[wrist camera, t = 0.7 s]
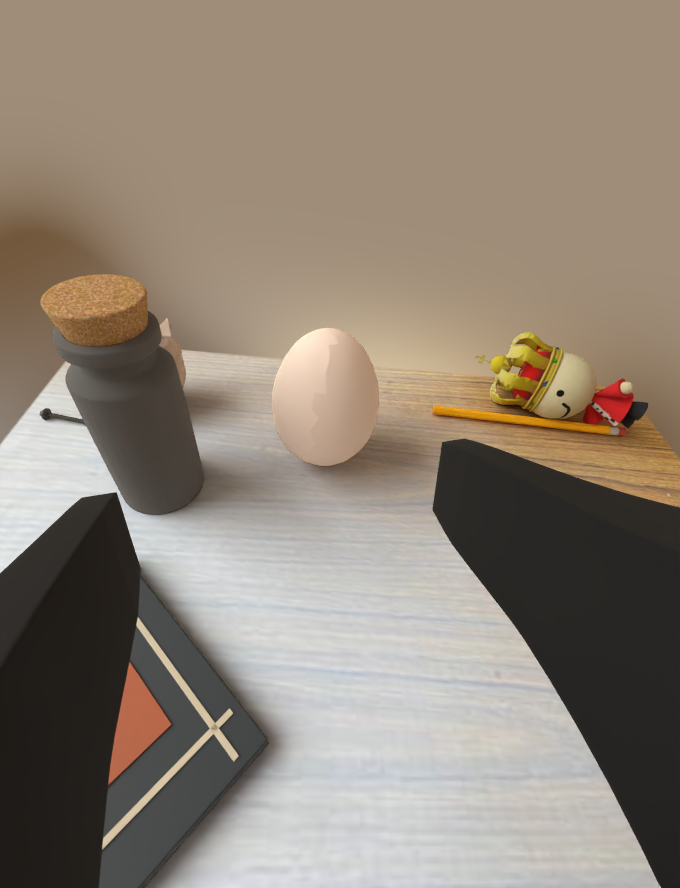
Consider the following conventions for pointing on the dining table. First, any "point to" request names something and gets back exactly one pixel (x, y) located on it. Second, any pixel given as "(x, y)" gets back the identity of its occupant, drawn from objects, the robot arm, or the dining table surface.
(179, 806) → the board
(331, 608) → the dining table surface
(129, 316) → the bottle
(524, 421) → the pencil
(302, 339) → the egg
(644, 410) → the toy
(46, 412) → the screw
